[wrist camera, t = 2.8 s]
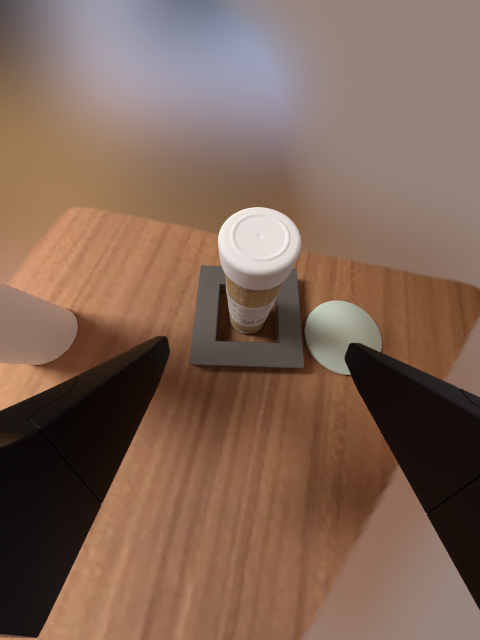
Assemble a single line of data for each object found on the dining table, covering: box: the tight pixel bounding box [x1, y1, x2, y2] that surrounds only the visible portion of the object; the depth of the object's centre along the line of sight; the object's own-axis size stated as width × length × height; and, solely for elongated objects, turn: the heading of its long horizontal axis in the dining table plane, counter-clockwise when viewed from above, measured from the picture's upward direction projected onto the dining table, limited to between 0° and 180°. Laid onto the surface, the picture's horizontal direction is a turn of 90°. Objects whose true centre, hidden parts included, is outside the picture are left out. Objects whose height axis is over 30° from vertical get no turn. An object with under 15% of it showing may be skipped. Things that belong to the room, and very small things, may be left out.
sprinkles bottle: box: [218, 207, 301, 334], centre depth 16 cm, size 5×4×13 cm
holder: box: [189, 266, 304, 369], centre depth 21 cm, size 12×12×2 cm
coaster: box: [304, 301, 382, 375], centre depth 21 cm, size 9×9×1 cm
